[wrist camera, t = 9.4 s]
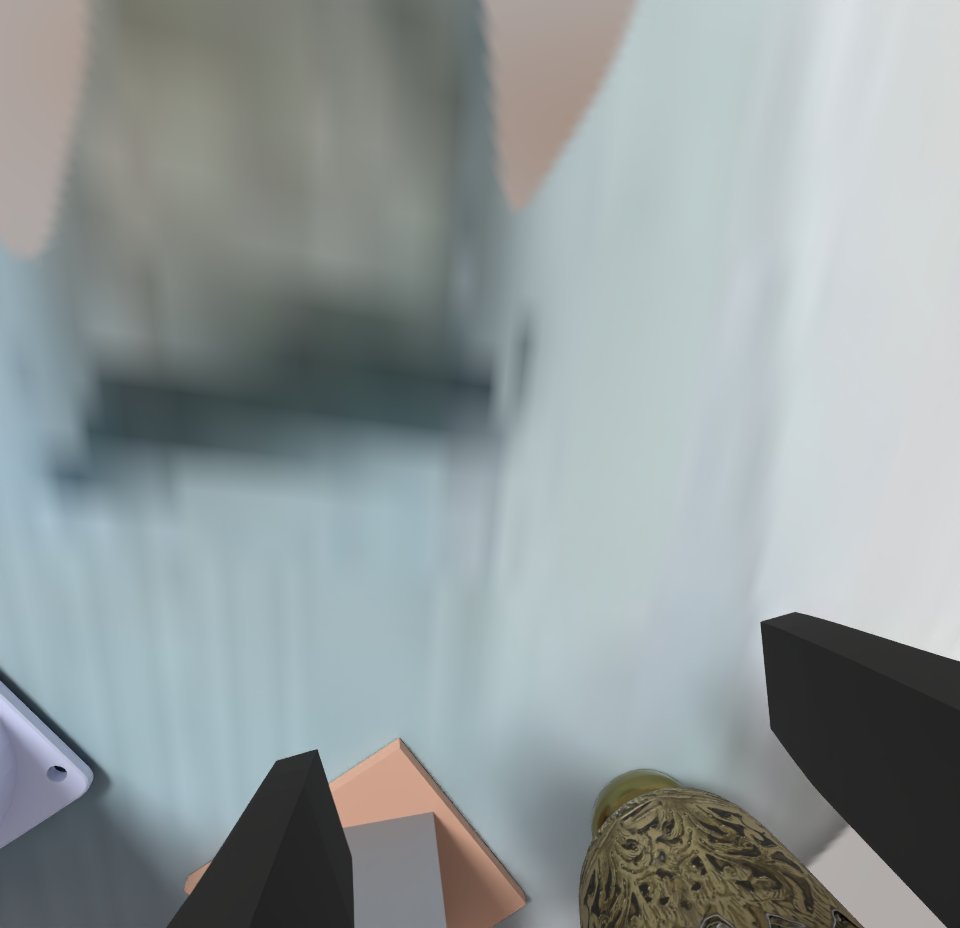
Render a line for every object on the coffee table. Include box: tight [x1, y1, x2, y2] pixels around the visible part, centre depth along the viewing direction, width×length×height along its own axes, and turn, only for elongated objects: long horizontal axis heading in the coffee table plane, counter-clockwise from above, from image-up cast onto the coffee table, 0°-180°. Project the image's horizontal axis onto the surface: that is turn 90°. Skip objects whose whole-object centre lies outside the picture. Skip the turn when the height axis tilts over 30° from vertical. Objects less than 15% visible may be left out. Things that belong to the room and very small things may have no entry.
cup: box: [579, 770, 864, 928], centre depth 18 cm, size 8×7×8 cm
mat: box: [184, 738, 526, 928], centre depth 20 cm, size 8×8×1 cm
